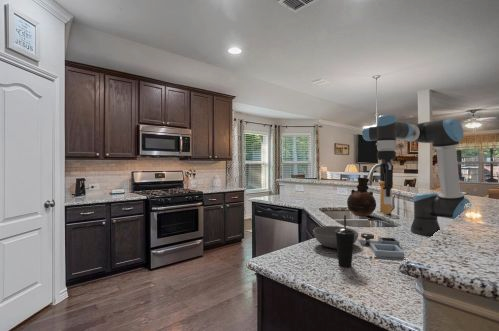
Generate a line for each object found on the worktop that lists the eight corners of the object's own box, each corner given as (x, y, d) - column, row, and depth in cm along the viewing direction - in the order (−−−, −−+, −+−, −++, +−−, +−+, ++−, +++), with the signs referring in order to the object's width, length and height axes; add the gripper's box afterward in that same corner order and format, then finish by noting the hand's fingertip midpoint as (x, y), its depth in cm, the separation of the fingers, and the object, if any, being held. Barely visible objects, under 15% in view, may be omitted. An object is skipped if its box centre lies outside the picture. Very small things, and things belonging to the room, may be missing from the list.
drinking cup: (354, 263, 114) (354, 214, 114) (355, 269, 107) (355, 217, 107) (335, 261, 117) (335, 213, 117) (334, 267, 110) (334, 216, 110)
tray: (396, 252, 128) (396, 244, 128) (404, 261, 117) (404, 252, 117) (370, 251, 130) (370, 243, 130) (375, 259, 119) (375, 250, 119)
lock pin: (390, 211, 126) (391, 181, 126) (394, 213, 120) (394, 182, 120) (377, 211, 127) (377, 181, 127) (380, 213, 122) (380, 181, 122)
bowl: (359, 244, 142) (359, 228, 142) (356, 256, 123) (356, 238, 123) (317, 239, 151) (317, 224, 151) (308, 250, 132) (308, 233, 132)
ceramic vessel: (346, 217, 214) (346, 177, 213) (347, 213, 230) (347, 176, 230) (376, 218, 206) (376, 178, 206) (375, 214, 222) (375, 177, 222)
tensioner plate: (396, 244, 140) (396, 233, 140) (403, 252, 128) (403, 240, 128) (357, 242, 144) (358, 231, 144) (361, 249, 132) (361, 237, 132)
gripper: (373, 151, 133) (372, 200, 133) (381, 149, 116) (381, 205, 116) (390, 151, 131) (390, 201, 131) (401, 149, 114) (401, 206, 114)
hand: (385, 203), depth 124 cm, fingers closed on lock pin, 4 cm apart
